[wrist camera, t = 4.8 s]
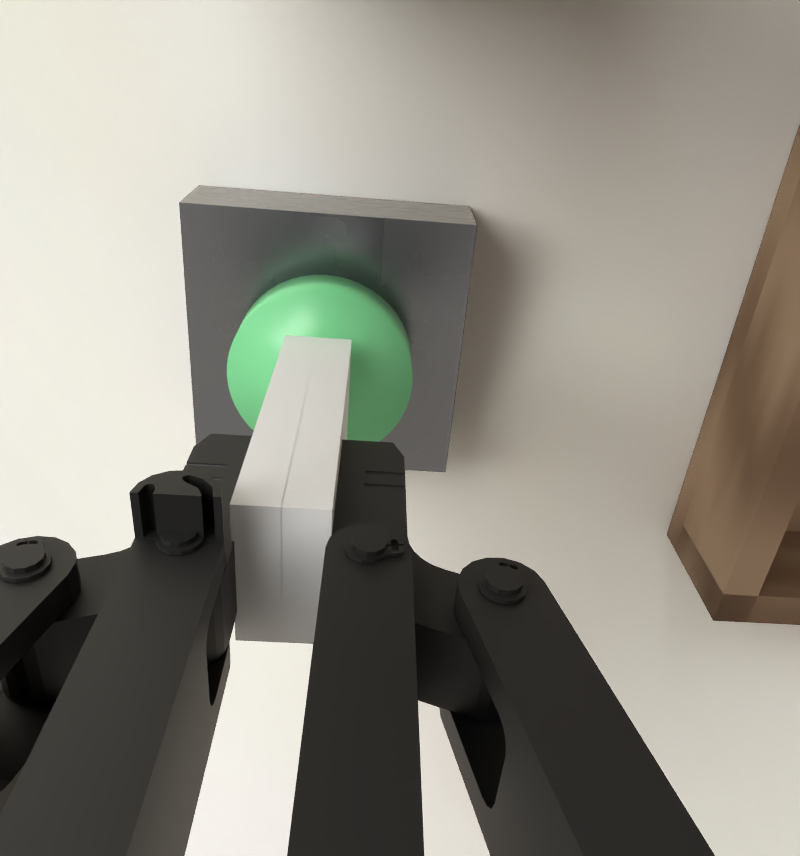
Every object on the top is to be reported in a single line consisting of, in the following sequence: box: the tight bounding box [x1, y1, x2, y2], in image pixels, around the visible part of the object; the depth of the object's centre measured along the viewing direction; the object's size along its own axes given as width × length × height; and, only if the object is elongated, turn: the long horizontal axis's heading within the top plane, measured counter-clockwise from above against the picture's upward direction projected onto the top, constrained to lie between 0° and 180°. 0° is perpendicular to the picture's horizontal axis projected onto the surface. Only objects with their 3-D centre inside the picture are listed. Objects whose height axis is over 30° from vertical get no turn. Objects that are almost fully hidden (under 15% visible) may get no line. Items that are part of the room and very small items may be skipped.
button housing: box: [179, 185, 477, 472], centre depth 20 cm, size 7×7×2 cm
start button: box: [227, 275, 412, 442], centre depth 19 cm, size 4×4×3 cm
